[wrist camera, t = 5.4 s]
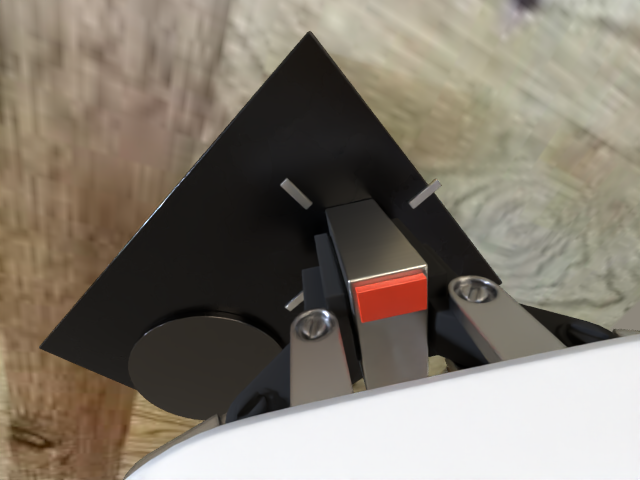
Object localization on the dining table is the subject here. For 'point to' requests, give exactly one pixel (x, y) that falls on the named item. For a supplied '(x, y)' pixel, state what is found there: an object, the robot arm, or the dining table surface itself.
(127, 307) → the hob
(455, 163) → the dining table surface
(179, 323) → the disc
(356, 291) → the hob knob
